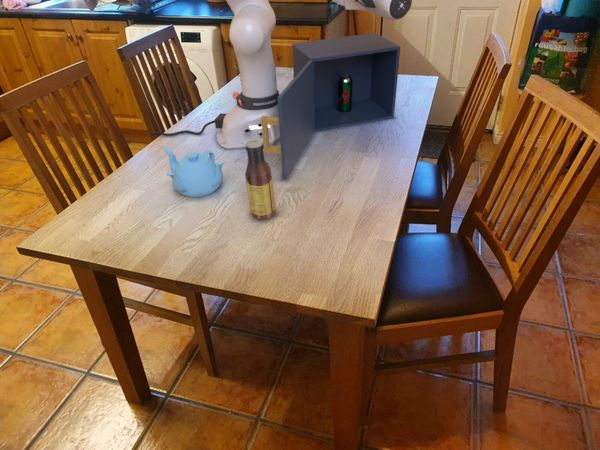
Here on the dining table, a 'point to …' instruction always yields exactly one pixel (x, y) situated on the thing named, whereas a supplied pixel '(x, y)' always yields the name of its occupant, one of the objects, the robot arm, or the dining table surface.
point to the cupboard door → (293, 120)
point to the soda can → (344, 93)
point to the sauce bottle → (259, 182)
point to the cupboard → (365, 73)
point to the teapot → (195, 173)
